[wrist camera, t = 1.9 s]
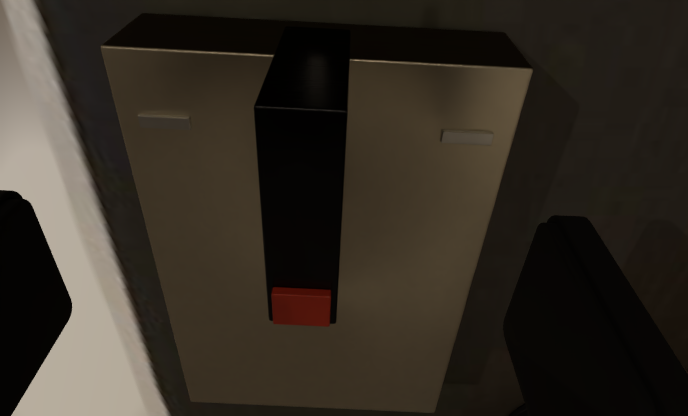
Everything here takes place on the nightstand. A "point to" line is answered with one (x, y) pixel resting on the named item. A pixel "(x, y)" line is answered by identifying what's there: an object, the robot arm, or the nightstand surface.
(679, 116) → the nightstand surface
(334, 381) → the panel
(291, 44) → the black boxy piece
